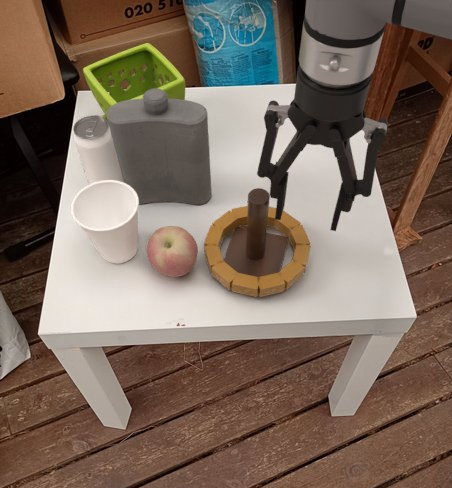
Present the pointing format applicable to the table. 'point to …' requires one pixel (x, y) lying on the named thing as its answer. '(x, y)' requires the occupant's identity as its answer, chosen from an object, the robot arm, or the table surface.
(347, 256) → the table surface
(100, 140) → the can
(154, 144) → the flask
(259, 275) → the peg stand
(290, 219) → the hoop
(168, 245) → the apple
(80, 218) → the cup
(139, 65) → the flower pot
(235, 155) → the table surface
